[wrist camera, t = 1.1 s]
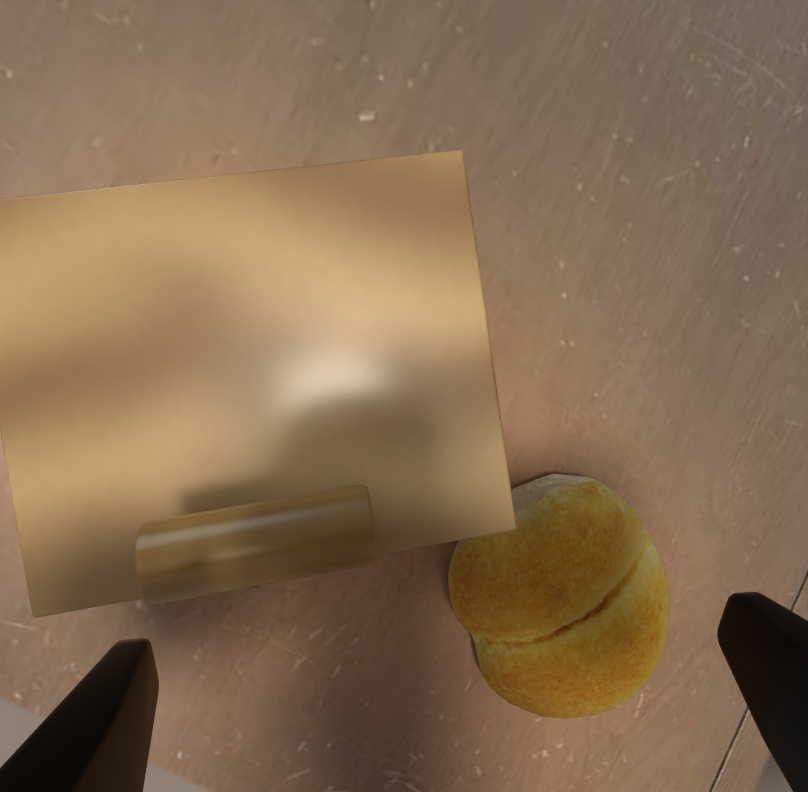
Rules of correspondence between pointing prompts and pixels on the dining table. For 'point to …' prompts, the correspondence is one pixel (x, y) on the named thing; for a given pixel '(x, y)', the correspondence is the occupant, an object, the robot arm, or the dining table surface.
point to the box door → (245, 379)
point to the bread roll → (564, 599)
